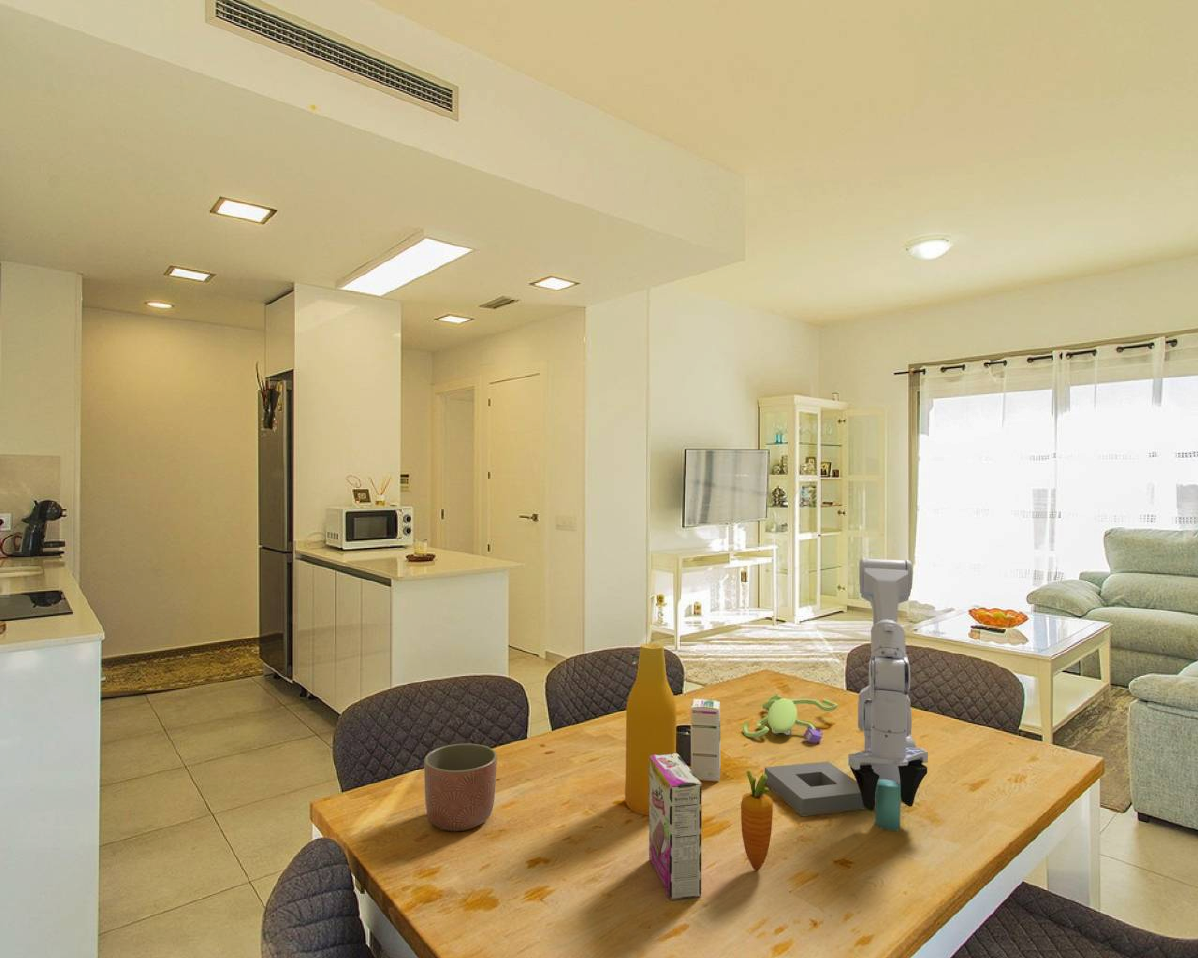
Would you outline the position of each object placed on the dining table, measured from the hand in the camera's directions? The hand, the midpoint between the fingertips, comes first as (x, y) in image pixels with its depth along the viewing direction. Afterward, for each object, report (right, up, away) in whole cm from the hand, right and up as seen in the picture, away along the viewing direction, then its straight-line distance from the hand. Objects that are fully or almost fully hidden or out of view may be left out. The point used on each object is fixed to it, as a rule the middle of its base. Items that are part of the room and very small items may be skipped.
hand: (887, 806), depth 119 cm
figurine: (-3, -4, +49) cm, 49 cm away
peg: (0, -3, 0) cm, 3 cm away
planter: (-74, -3, 0) cm, 74 cm away
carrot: (-26, -3, -15) cm, 30 cm away
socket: (-9, -3, +11) cm, 15 cm away
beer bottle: (-41, -3, +6) cm, 41 cm away
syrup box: (-29, -3, +20) cm, 35 cm away
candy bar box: (-39, -3, -17) cm, 43 cm away
